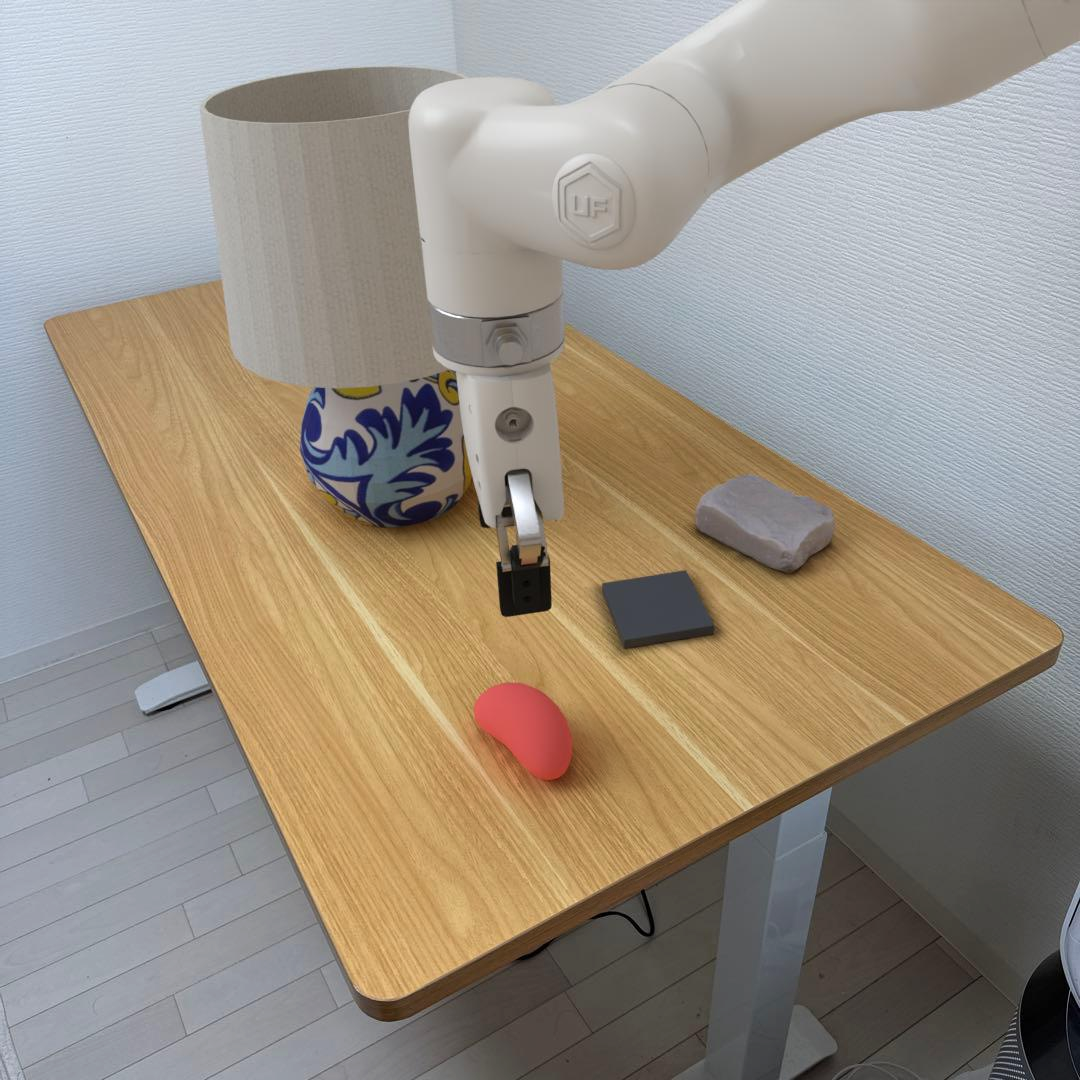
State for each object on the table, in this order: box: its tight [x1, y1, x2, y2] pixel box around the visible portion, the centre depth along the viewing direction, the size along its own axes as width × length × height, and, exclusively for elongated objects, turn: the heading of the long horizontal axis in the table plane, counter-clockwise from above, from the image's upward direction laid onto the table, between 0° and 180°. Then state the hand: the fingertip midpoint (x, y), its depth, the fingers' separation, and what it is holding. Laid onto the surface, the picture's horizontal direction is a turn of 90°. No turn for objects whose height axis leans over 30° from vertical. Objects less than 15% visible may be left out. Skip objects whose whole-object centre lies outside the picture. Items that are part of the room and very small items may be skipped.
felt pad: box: [601, 570, 715, 649], centre depth 85 cm, size 8×8×1 cm
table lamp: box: [199, 65, 474, 529], centre depth 92 cm, size 27×27×40 cm
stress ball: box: [473, 681, 573, 781], centre depth 73 cm, size 5×9×6 cm, turn 29°
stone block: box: [694, 473, 836, 574], centre depth 94 cm, size 12×5×10 cm
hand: (513, 564), depth 64 cm, fingers open, 9 cm apart
